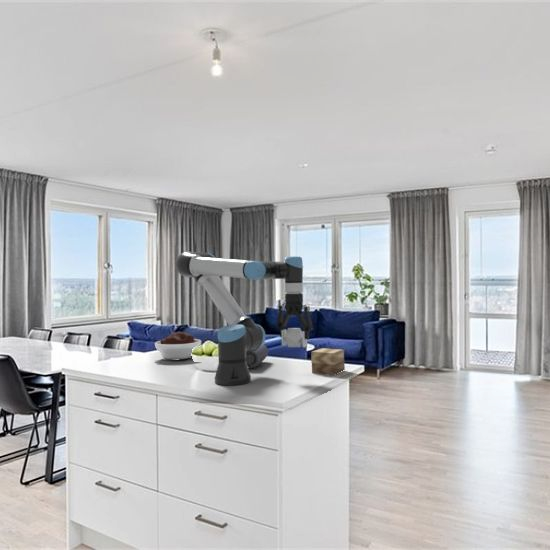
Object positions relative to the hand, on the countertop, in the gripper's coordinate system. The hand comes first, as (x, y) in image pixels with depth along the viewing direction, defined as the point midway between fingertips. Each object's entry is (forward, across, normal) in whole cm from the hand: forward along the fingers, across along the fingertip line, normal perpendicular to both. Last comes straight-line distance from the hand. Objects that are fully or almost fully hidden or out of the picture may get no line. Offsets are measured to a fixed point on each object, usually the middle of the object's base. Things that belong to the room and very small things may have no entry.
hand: (294, 345), depth 206 cm
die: (0, 0, 0) cm, 0 cm away
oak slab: (+9, -6, -21) cm, 23 cm away
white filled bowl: (+16, +83, -18) cm, 87 cm away
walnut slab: (+14, -6, -21) cm, 26 cm away
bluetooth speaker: (+15, +33, -19) cm, 41 cm away
